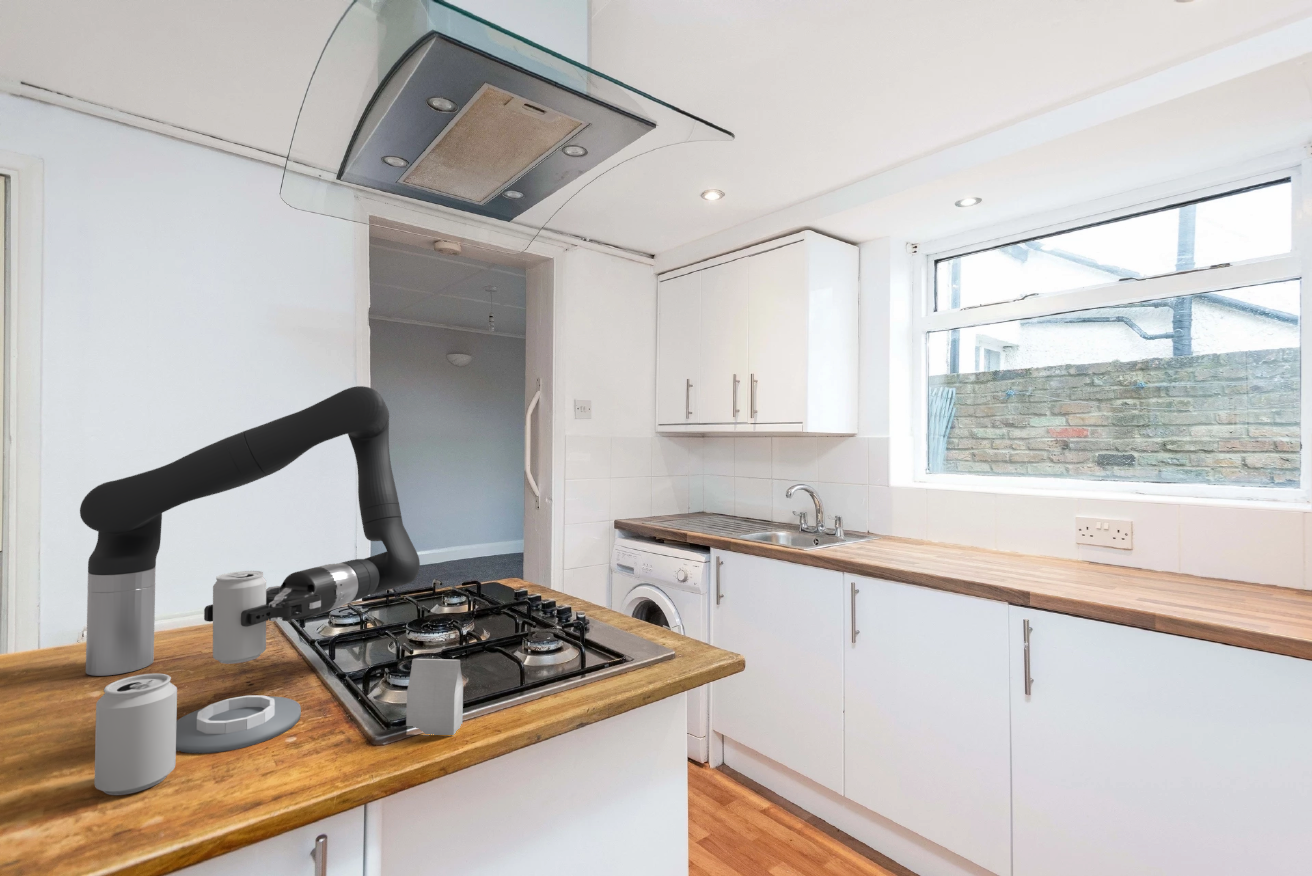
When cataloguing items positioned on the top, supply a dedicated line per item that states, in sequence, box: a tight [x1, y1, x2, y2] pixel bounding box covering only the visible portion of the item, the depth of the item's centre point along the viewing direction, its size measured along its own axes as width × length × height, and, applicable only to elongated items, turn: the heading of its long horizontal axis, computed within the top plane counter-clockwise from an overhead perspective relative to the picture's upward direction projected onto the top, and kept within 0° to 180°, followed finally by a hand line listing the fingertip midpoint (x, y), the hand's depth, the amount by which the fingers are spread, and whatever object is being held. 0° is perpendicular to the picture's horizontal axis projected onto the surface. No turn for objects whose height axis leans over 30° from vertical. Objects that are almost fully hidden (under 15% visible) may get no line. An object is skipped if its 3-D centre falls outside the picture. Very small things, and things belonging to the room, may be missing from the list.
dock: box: [176, 694, 302, 754], centre depth 91 cm, size 16×16×2 cm
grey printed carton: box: [405, 658, 464, 736], centre depth 91 cm, size 4×7×10 cm, turn 89°
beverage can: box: [212, 570, 267, 665], centre depth 91 cm, size 6×6×12 cm
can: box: [93, 673, 178, 796], centre depth 76 cm, size 8×8×12 cm
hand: (224, 616), depth 89 cm, fingers closed on beverage can, 6 cm apart
